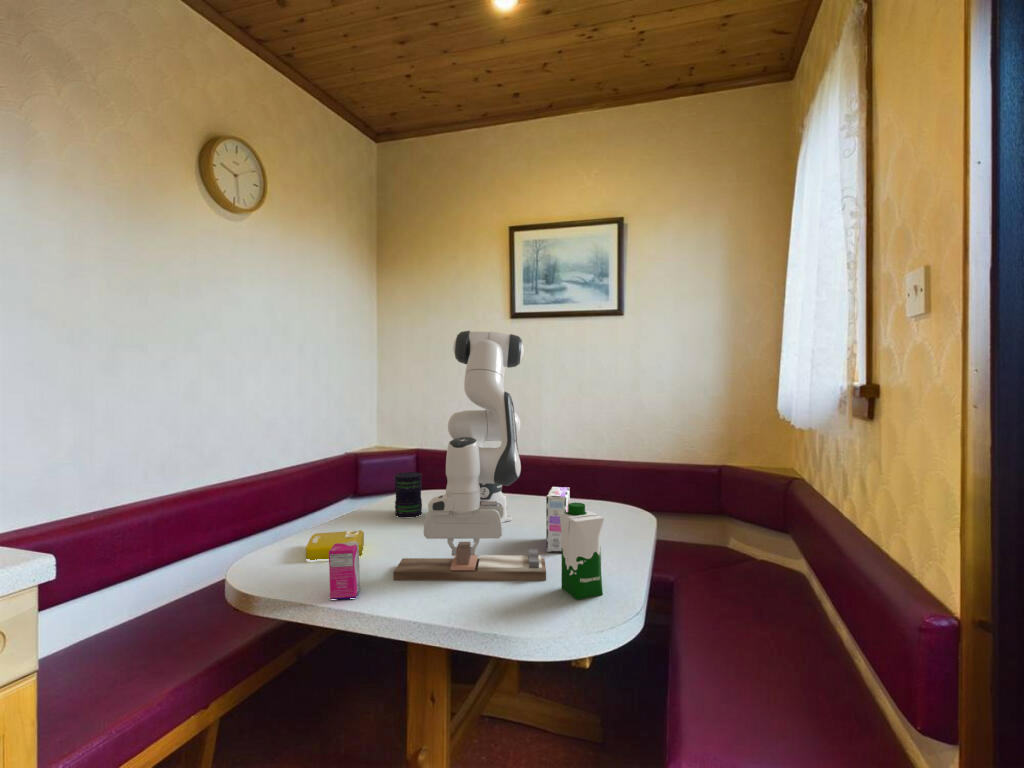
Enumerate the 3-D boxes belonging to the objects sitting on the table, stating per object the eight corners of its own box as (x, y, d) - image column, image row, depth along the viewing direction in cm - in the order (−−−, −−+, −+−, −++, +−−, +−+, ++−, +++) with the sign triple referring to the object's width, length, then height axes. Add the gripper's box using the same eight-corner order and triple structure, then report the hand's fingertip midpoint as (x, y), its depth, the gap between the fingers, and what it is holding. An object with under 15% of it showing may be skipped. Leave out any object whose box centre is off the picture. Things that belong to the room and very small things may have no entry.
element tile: (312, 547, 157) (312, 531, 157) (364, 543, 160) (364, 528, 160) (304, 564, 142) (304, 547, 142) (361, 560, 146) (361, 543, 146)
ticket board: (402, 565, 140) (402, 548, 140) (544, 565, 139) (544, 548, 139) (393, 580, 130) (393, 561, 130) (546, 580, 129) (546, 561, 129)
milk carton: (587, 582, 128) (587, 500, 127) (608, 596, 119) (608, 508, 119) (556, 588, 124) (555, 504, 124) (575, 602, 116) (574, 513, 116)
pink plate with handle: (455, 557, 139) (455, 539, 139) (477, 557, 139) (477, 539, 139) (450, 570, 130) (450, 551, 130) (474, 570, 130) (474, 551, 130)
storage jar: (419, 518, 188) (418, 476, 188) (392, 518, 188) (391, 477, 188) (424, 511, 198) (423, 472, 198) (398, 511, 198) (398, 472, 198)
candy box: (566, 553, 148) (566, 496, 148) (545, 552, 150) (545, 495, 149) (570, 539, 162) (570, 486, 162) (551, 538, 163) (551, 485, 163)
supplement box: (335, 590, 123) (334, 542, 123) (360, 589, 124) (360, 541, 124) (328, 601, 118) (328, 550, 118) (355, 599, 118) (355, 549, 118)
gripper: (504, 498, 137) (504, 550, 137) (426, 498, 138) (427, 550, 138) (503, 504, 131) (503, 559, 131) (422, 504, 131) (422, 559, 131)
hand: (463, 554), depth 134 cm, fingers closed on pink plate with handle, 3 cm apart
